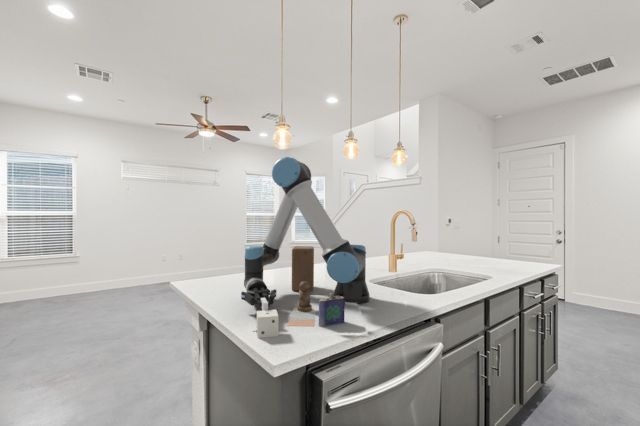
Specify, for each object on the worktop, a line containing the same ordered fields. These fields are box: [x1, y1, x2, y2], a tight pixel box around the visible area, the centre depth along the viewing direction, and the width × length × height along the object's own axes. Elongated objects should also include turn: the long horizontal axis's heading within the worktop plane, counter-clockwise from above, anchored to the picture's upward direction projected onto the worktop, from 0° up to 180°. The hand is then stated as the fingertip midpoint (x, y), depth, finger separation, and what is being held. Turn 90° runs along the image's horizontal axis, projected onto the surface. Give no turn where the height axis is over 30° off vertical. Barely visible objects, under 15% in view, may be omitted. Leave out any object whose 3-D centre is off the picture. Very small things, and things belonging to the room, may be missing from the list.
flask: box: [318, 292, 346, 328], centre depth 96 cm, size 9×3×11 cm, turn 117°
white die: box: [256, 309, 279, 339], centre depth 90 cm, size 6×6×6 cm
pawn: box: [297, 281, 313, 312], centre depth 110 cm, size 5×5×10 cm
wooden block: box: [291, 245, 315, 292], centre depth 144 cm, size 10×10×20 cm
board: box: [287, 306, 317, 327], centre depth 103 cm, size 9×20×1 cm, turn 178°
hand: (265, 307), depth 94 cm, fingers closed
